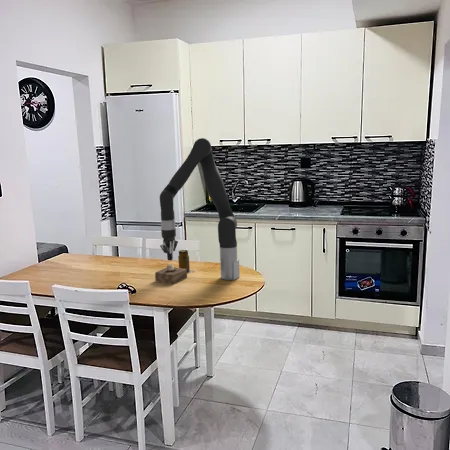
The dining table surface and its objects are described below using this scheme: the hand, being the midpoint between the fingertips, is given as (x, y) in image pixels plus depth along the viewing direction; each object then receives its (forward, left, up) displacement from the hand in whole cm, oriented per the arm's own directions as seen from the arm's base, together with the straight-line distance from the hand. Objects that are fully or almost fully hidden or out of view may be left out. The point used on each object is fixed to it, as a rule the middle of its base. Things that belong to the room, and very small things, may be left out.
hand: (170, 260), depth 228 cm
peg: (0, 0, -11) cm, 11 cm away
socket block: (0, 0, -11) cm, 11 cm away
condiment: (+2, -16, -11) cm, 19 cm away
